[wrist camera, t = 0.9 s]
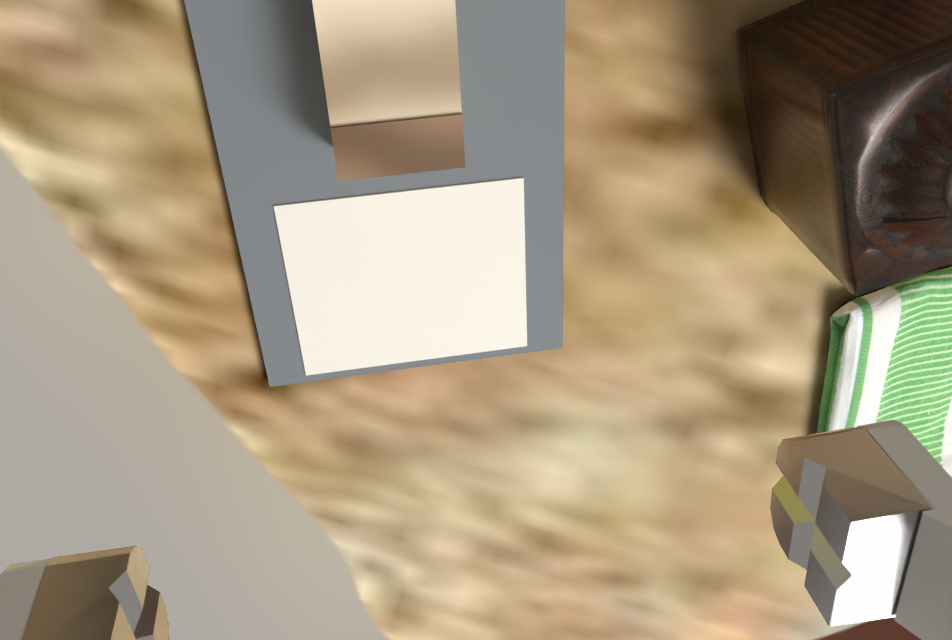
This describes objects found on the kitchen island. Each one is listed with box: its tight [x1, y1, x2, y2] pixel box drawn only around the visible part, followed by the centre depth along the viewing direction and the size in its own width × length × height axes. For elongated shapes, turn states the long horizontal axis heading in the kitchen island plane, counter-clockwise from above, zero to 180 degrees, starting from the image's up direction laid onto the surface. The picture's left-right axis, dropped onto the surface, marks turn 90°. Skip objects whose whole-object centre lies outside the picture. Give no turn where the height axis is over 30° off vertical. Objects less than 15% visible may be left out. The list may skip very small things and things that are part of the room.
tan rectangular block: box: [312, 0, 465, 182], centre depth 38 cm, size 9×6×4 cm, turn 3°
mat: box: [184, 0, 565, 387], centre depth 43 cm, size 23×16×1 cm
